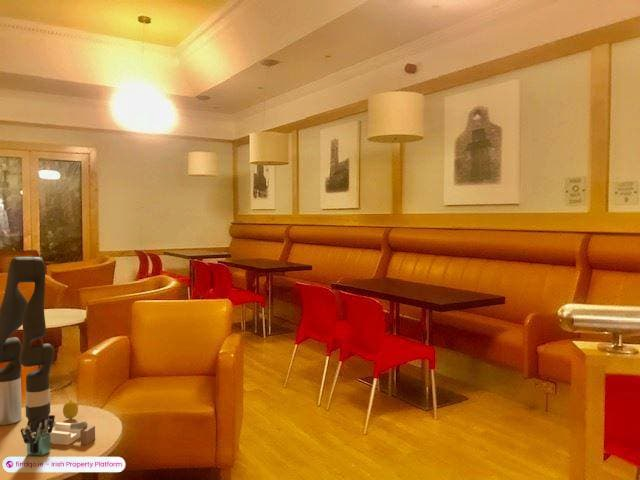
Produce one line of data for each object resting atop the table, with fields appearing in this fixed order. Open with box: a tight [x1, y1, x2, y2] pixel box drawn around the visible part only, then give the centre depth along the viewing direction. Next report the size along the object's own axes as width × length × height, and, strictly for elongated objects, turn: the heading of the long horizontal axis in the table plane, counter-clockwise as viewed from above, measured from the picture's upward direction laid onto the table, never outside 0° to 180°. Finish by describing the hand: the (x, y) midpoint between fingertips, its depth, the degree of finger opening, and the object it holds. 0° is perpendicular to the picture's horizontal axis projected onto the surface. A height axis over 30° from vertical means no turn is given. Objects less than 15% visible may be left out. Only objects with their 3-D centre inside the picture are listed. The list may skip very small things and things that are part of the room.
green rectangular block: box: [26, 432, 51, 457], centre depth 182 cm, size 6×4×6 cm, turn 78°
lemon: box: [62, 399, 79, 420], centre depth 211 cm, size 6×6×8 cm
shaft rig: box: [33, 420, 96, 446], centre depth 194 cm, size 23×9×7 cm, turn 78°
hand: (38, 449), depth 182 cm, fingers closed on green rectangular block, 4 cm apart
